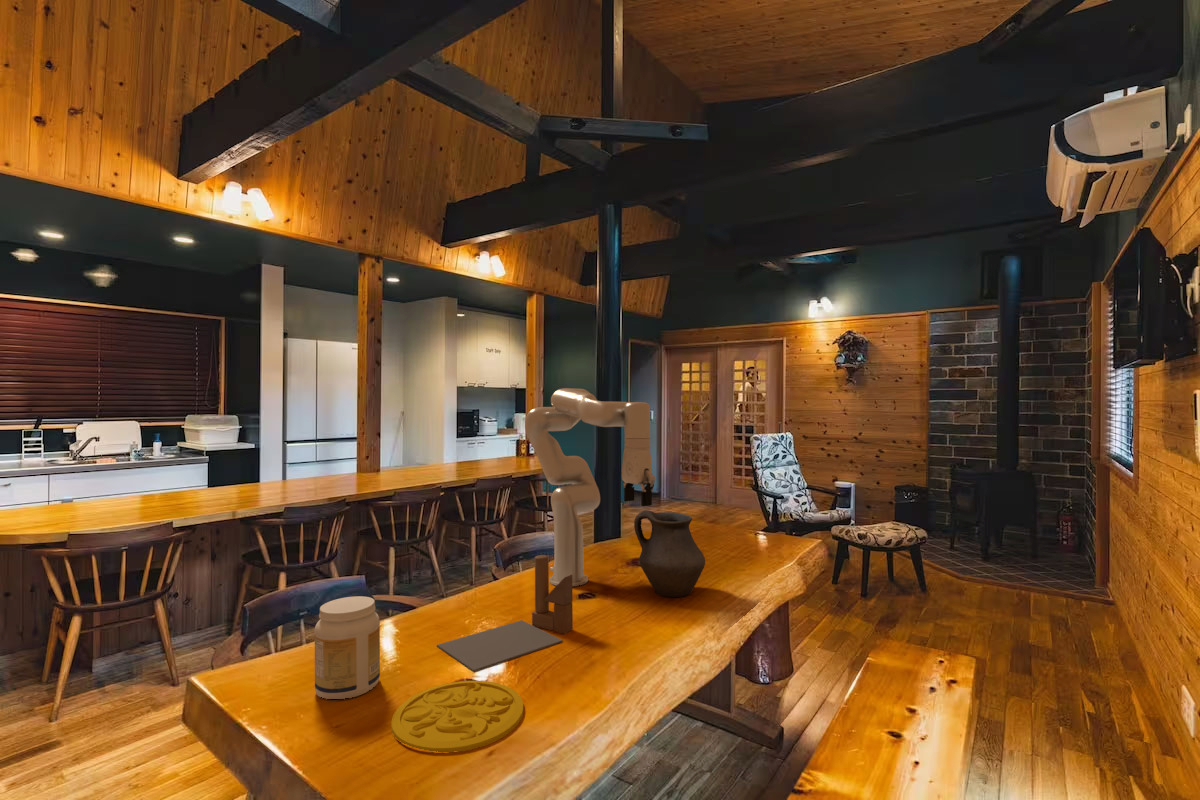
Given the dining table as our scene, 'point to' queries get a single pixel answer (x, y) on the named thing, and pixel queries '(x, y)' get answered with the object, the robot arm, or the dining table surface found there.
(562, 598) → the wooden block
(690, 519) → the pitcher
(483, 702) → the decorative medallion
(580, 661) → the dining table surface
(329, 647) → the supplement tub
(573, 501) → the robot arm
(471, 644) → the mat
